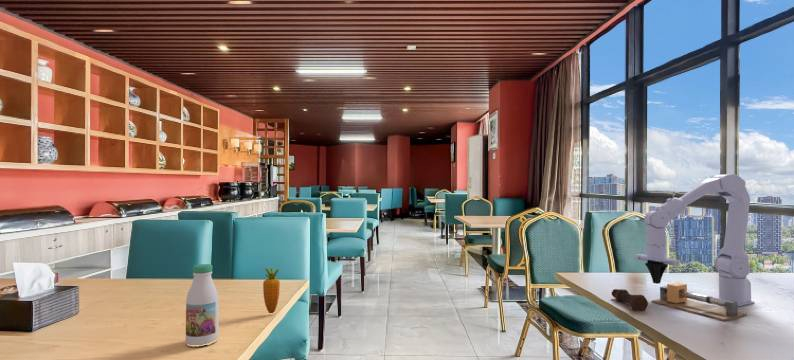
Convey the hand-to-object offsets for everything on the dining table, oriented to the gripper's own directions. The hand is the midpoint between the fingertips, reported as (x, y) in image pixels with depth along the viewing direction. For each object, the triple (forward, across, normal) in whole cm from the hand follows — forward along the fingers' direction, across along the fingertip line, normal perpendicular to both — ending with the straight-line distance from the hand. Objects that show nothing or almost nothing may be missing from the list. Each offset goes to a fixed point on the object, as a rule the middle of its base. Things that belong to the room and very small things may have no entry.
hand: (656, 283), depth 146 cm
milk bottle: (+6, -25, -146) cm, 148 cm away
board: (+6, +13, 0) cm, 14 cm away
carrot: (+6, -41, -126) cm, 133 cm away
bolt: (+6, 0, -16) cm, 17 cm away
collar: (+5, +7, 0) cm, 8 cm away
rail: (+6, +13, 0) cm, 14 cm away
